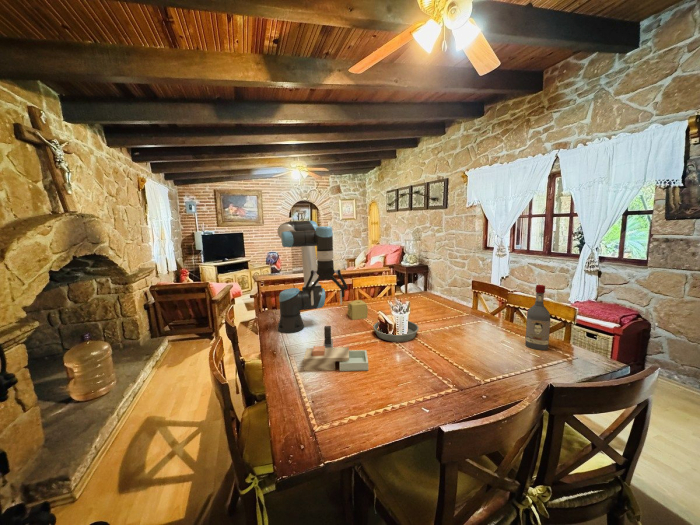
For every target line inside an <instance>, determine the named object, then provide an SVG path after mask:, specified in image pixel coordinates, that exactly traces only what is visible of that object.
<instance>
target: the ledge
mask: <svg viewBox="0 0 700 525" xmlns="http://www.w3.org/2000/svg"><path fill="white" fill-rule="evenodd" d="M349 350H350V347H349V346H348V347H347V346H346V347H345V346H344V347H333V348H325V355H323V356H313V352H312V351H313V347H311V348H310V347H307V348H306V349H305V353H304V356H303V371H304V372H316V371H317V372H318V371H321V372H322V371H323V372H324V371H336V364H337V363H336V362H340V361H349Z"/></svg>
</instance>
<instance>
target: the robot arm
mask: <svg viewBox="0 0 700 525" xmlns="http://www.w3.org/2000/svg"><path fill="white" fill-rule="evenodd" d="M277 228H278V229H277V235H278V237H279V238H280V239H281V240H280V241H281V246H282V247H283V248H300V250H301V251H300V252H301V262H302V270H303V273H302V274H303V283H304V284H303V285H302V287H301V288H302V289H301V290H300V289H299V288H298V287H291V288H287V289H284V290H282V291H280V293H279V296H278V297H279V298H278V299H279V300H278V301H279V317H280V318H279V321H278V324H277V331H278V332H280V333H283V334H293V333H298V332H300V331H302V330H304V329H305V323H304V320H303V317H302V315H301V311H307V310H317V309H322V308H324V305H325V302H326V290H325V288H323V287H322V284H320V281H321V280H323V281H325V280H326V281H329V280H331V281H333V282H334V284H335V285H336V286H337V287H338V288H339V302H340V304H339V305H343V298H345V290H348V288H349V286H348V284H347V282H346V280H345V279H344V277H343V275H342V272H341V269H340V268H339V269H335V266H334V260H333V259H334V239H333V236H334V232H333V227H332V226H325V225H324V226H318V224H317V222H316V221H315V220H309V219H307V220H290V221H286V222H283V223H282V224H280V225H279V226H278V227H277ZM335 274H336V275H337V276H338V277H339V279H340V281H341V282H339V281H338V280H337V278H335V276H334V275H335ZM341 283H342V284H341Z"/></svg>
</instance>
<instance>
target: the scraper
mask: <svg viewBox="0 0 700 525" xmlns="http://www.w3.org/2000/svg"><path fill="white" fill-rule="evenodd" d="M323 332H324V334H323V335H324V341H323V346H325V348H334V344H333V343H334V340H333V338H332V326H331V325H325V326H324V327H323Z"/></svg>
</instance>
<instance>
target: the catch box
mask: <svg viewBox="0 0 700 525" xmlns="http://www.w3.org/2000/svg"><path fill="white" fill-rule="evenodd" d="M362 371H363V372H367V371H369V357H368V351H367V349H356V350H355V349H354V350H353V349H352V350H351V349H349V361H339V372H362Z"/></svg>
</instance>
